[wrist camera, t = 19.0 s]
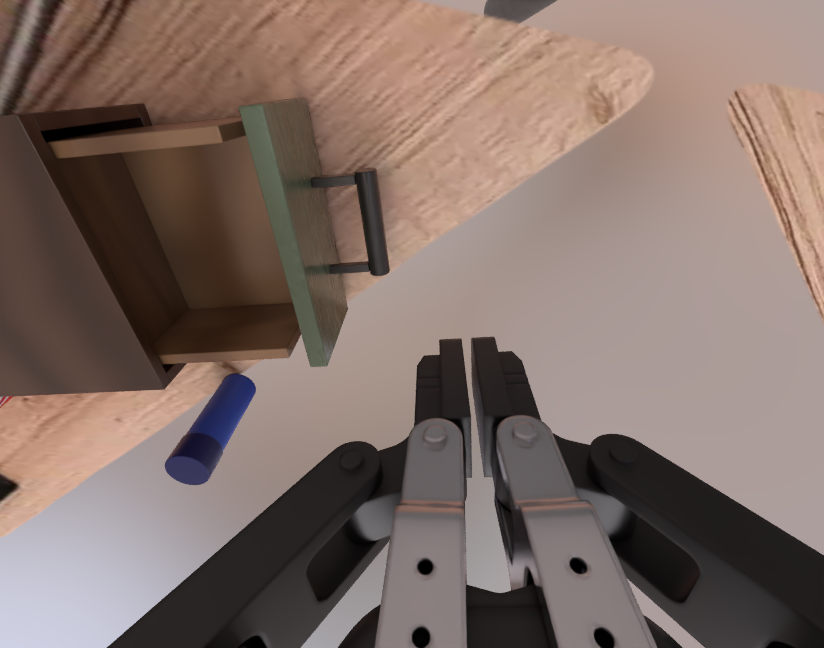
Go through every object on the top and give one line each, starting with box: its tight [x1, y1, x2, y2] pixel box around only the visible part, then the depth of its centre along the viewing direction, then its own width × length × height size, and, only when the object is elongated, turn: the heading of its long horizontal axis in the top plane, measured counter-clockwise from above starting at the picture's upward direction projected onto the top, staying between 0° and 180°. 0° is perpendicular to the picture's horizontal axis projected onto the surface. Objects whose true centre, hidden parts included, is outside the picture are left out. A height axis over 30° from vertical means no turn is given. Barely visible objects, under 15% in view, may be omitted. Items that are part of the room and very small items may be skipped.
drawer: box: [45, 97, 390, 367], centre depth 26 cm, size 18×15×8 cm
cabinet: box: [0, 104, 187, 397], centre depth 27 cm, size 15×17×10 cm
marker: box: [165, 374, 256, 485], centre depth 35 cm, size 3×3×10 cm
